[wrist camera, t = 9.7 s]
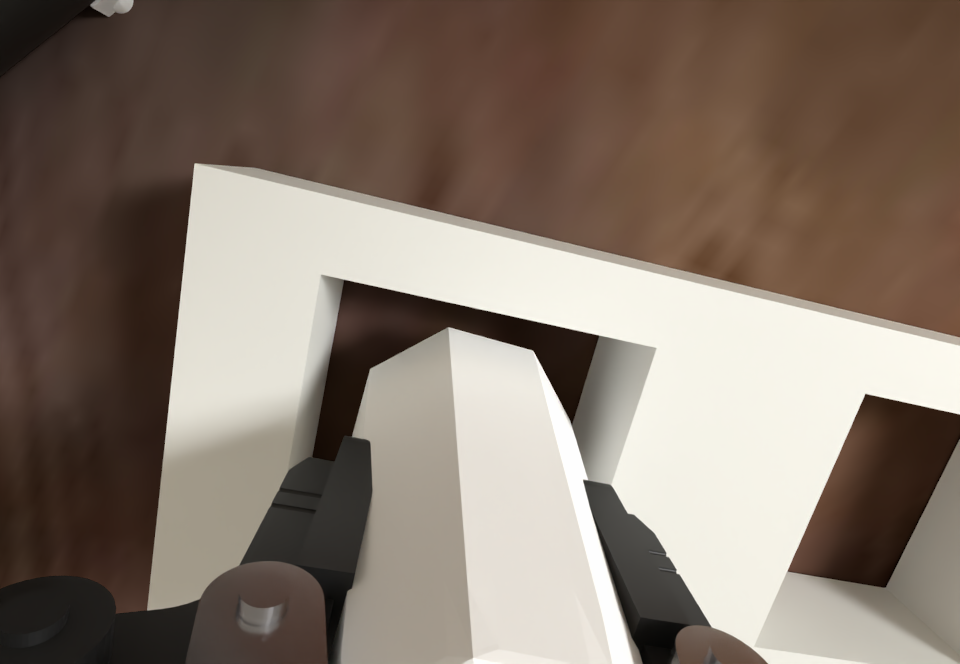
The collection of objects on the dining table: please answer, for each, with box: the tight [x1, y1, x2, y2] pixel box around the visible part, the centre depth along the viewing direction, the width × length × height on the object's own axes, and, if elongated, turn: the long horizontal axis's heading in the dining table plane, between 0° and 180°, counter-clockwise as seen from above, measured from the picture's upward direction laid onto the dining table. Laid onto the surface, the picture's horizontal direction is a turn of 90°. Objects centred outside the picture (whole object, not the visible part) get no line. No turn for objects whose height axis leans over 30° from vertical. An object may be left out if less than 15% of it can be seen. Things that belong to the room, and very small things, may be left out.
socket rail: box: [147, 163, 960, 664], centre depth 14 cm, size 24×10×4 cm, turn 76°
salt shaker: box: [328, 327, 643, 664], centre depth 8 cm, size 5×5×11 cm
